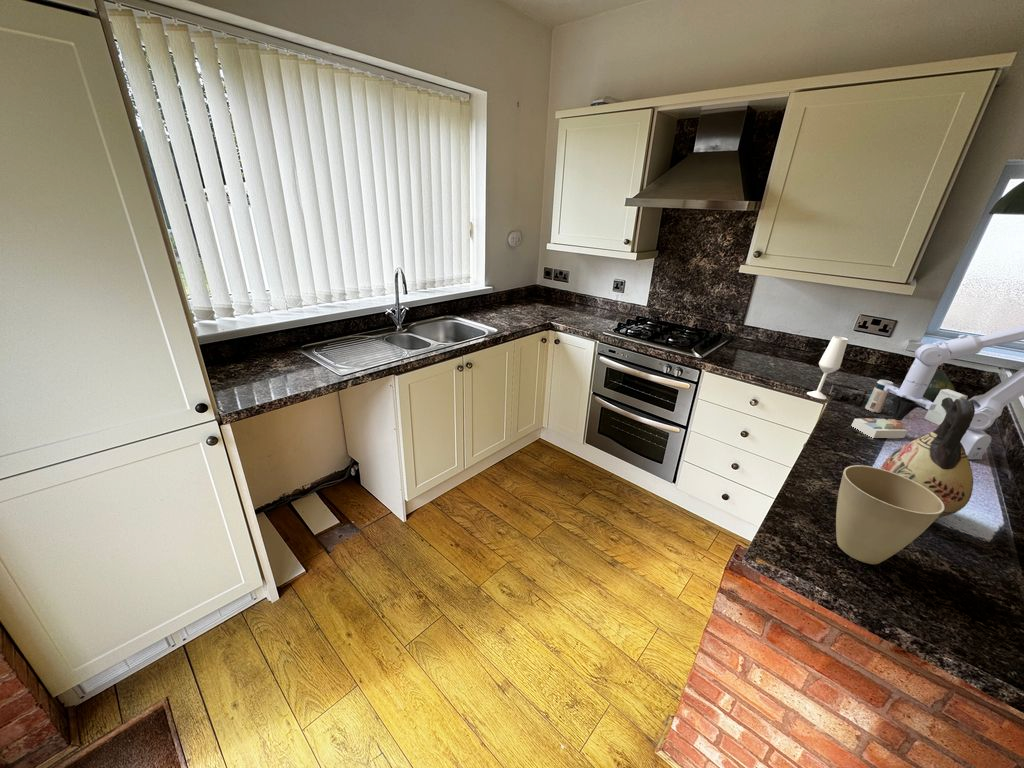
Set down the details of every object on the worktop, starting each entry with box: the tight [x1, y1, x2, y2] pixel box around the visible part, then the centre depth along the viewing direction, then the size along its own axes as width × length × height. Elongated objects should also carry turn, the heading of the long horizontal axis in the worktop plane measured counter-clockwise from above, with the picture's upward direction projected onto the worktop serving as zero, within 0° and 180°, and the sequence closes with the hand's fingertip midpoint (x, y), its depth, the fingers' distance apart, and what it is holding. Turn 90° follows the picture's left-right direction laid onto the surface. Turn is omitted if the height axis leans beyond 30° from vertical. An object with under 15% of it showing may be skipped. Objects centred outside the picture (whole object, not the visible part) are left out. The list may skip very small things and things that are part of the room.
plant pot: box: [835, 464, 945, 565], centre depth 82 cm, size 15×15×16 cm
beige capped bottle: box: [864, 378, 895, 414], centre depth 152 cm, size 5×5×12 cm
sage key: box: [876, 418, 894, 429], centre depth 135 cm, size 3×3×2 cm
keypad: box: [850, 417, 909, 439], centre depth 137 cm, size 8×12×4 cm, turn 98°
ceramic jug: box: [879, 397, 975, 523], centre depth 93 cm, size 17×15×30 cm
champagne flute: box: [806, 335, 849, 400], centre depth 160 cm, size 7×7×24 cm
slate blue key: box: [865, 423, 882, 429], centre depth 135 cm, size 3×3×2 cm
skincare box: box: [923, 389, 968, 426], centre depth 147 cm, size 6×4×12 cm
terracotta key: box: [887, 418, 905, 429], centre depth 136 cm, size 3×3×2 cm
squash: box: [920, 370, 957, 409], centre depth 163 cm, size 14×15×15 cm
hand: (896, 419), depth 135 cm, fingers closed
